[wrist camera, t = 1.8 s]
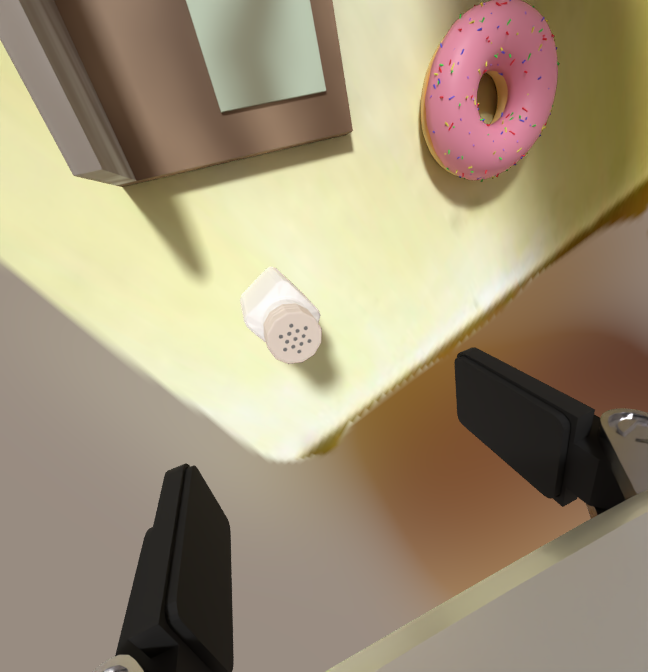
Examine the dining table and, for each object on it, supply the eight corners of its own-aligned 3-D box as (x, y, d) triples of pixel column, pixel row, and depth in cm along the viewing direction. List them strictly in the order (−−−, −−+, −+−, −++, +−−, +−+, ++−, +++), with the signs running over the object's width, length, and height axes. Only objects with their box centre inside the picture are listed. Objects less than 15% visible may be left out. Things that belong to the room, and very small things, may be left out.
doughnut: (522, -2, 23) (580, -43, 19) (524, 158, 28) (570, 150, 24) (396, 41, 21) (433, 5, 18) (423, 201, 26) (455, 199, 23)
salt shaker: (272, 327, 26) (295, 382, 18) (236, 298, 24) (243, 343, 16) (304, 294, 26) (342, 334, 18) (270, 261, 24) (294, 289, 16)
